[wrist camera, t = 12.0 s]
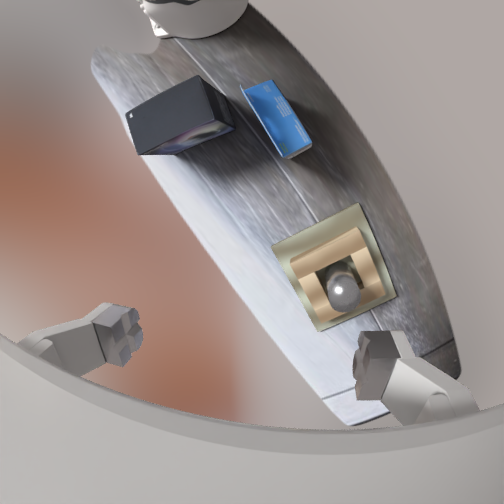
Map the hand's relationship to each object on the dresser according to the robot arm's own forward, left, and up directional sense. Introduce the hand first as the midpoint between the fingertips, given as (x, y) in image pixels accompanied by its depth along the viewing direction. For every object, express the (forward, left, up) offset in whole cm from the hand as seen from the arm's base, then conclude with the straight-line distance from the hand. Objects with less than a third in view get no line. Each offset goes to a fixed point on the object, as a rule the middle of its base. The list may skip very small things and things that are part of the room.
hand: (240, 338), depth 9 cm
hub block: (+12, +2, -31) cm, 33 cm away
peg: (+12, +2, -30) cm, 33 cm away
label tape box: (-10, +5, -31) cm, 33 cm away
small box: (-17, -6, -31) cm, 36 cm away
